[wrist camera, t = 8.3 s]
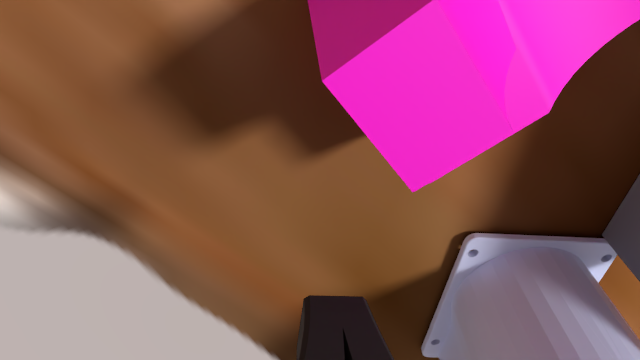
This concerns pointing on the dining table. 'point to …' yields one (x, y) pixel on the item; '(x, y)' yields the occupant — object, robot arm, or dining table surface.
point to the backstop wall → (627, 230)
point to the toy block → (454, 69)
